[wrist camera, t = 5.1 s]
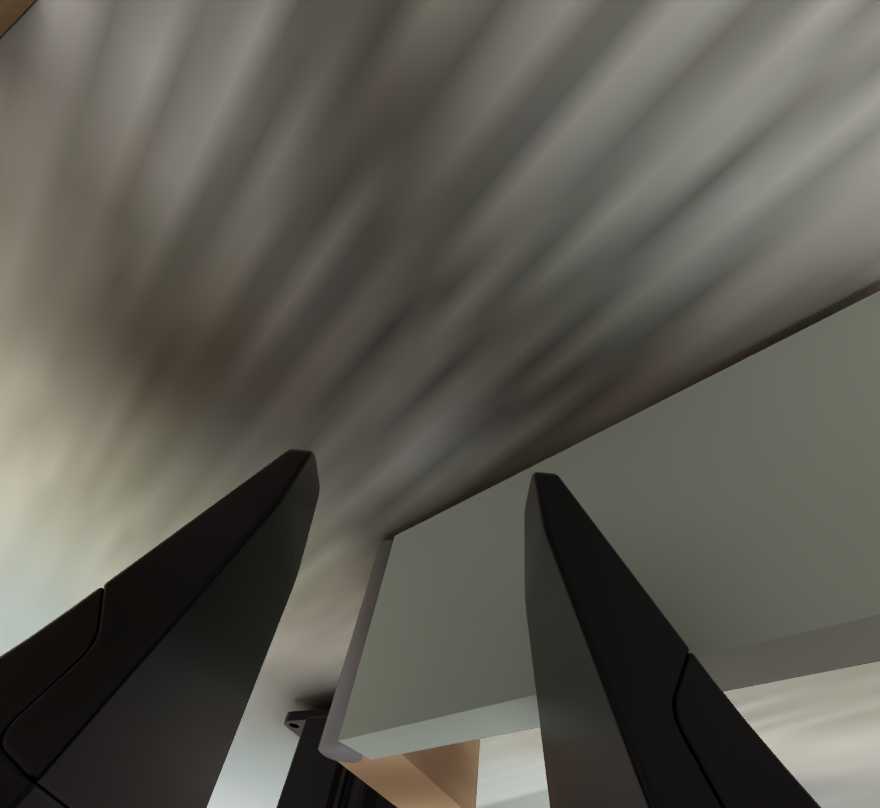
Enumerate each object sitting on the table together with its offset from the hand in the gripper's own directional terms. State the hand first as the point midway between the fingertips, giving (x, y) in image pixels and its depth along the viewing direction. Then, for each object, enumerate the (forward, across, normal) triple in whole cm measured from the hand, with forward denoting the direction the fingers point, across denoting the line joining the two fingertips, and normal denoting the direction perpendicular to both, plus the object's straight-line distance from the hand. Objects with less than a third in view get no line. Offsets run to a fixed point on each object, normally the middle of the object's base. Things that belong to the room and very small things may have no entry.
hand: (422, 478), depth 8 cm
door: (+4, +1, +6) cm, 8 cm away
